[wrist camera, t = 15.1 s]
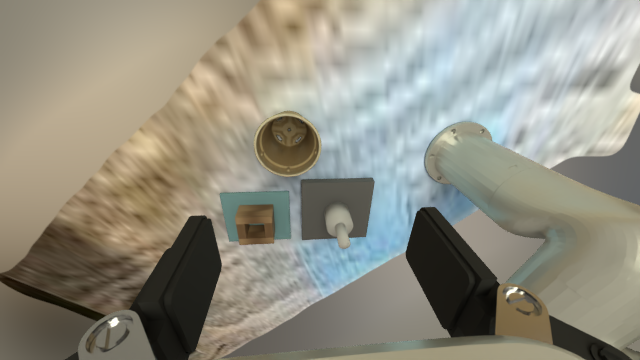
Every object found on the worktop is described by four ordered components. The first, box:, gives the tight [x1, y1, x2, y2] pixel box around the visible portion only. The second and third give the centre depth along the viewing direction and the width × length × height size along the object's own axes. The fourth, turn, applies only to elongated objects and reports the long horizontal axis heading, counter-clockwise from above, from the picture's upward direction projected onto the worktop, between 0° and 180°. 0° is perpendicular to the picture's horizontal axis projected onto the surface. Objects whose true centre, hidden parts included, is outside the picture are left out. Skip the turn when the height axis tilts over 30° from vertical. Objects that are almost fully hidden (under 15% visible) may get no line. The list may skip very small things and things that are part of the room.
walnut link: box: [235, 204, 275, 245], centre depth 48 cm, size 7×7×4 cm
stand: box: [301, 178, 374, 249], centre depth 46 cm, size 14×14×11 cm
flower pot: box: [254, 111, 321, 177], centre depth 38 cm, size 9×9×9 cm
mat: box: [220, 191, 291, 242], centre depth 50 cm, size 13×12×1 cm
